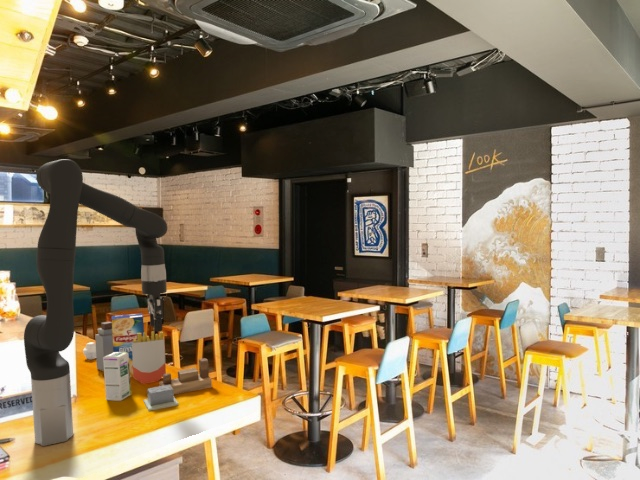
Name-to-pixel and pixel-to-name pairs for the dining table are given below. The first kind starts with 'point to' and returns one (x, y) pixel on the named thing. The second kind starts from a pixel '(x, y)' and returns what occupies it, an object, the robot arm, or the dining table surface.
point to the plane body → (189, 379)
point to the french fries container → (148, 358)
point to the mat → (160, 405)
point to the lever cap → (160, 395)
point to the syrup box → (117, 376)
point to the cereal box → (126, 334)
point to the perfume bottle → (103, 343)
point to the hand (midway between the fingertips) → (156, 328)
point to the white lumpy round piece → (90, 350)
